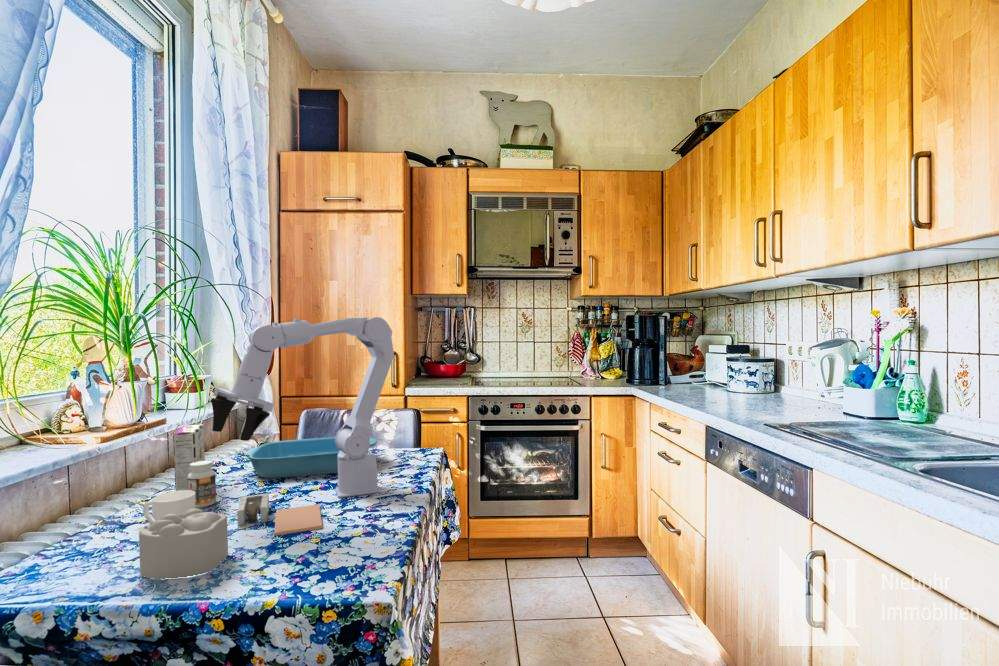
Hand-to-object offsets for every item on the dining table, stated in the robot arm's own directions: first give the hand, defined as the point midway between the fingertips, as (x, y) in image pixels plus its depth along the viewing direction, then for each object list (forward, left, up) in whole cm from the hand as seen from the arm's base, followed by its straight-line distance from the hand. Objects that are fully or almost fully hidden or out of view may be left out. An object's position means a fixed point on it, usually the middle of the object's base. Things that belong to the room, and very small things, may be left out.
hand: (230, 435), depth 114 cm
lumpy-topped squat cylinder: (+5, +24, -18) cm, 31 cm away
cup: (+11, +3, -18) cm, 21 cm away
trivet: (-14, +10, -18) cm, 24 cm away
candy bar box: (+12, -23, -18) cm, 32 cm away
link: (-5, +3, -18) cm, 18 cm away
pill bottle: (+7, -11, -18) cm, 22 cm away
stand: (-5, +7, -18) cm, 19 cm away
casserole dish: (-18, -34, -18) cm, 43 cm away
